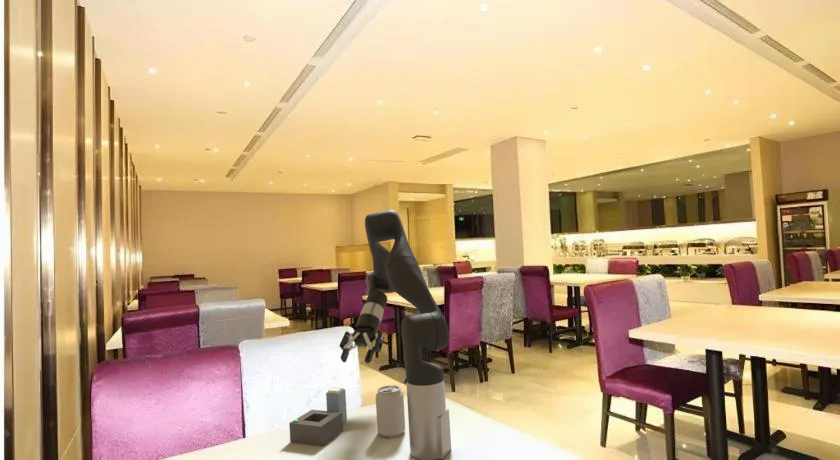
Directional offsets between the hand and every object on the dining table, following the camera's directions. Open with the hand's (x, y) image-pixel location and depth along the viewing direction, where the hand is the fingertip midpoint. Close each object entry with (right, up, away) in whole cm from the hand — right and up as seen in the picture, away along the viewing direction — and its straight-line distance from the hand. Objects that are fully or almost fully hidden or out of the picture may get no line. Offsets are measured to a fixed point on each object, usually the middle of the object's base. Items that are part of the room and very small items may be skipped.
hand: (354, 361), depth 143 cm
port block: (-7, -14, -20) cm, 26 cm away
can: (+13, -13, -21) cm, 28 cm away
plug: (-3, -14, -11) cm, 19 cm away
